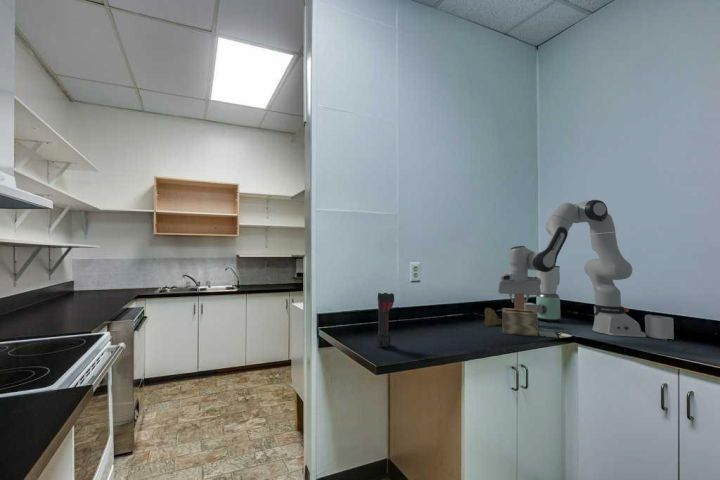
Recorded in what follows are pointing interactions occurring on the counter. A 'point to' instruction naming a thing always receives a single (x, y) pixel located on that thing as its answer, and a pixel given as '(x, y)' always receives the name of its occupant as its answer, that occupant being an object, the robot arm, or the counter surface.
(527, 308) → the supplement box
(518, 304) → the block
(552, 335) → the mat
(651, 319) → the toilet tissue
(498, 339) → the counter surface
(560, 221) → the robot arm
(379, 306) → the flashlight
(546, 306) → the juicer
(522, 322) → the crate
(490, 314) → the rock
